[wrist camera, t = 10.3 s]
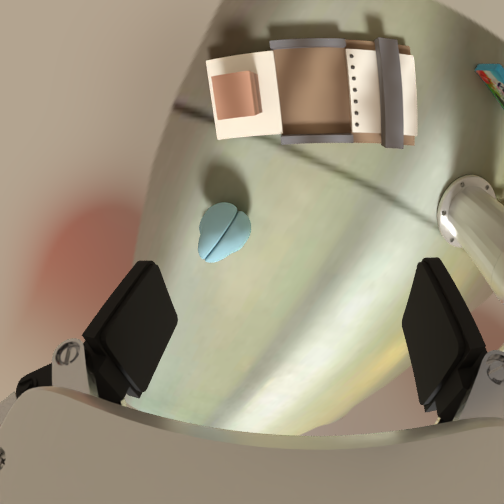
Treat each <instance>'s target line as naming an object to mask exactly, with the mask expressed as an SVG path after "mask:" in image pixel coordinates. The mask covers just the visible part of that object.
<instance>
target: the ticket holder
mask: <svg viewBox="0 0 504 504" xmlns="http://www.w3.org/2000/svg"><path fill="white" fill-rule="evenodd" d="M269 42H270V48H271V50H272V51H273V52H274V58H275V66H276V73H277V81H278V90H279V98H280V107H281V117H282V126H283V134H282V135H281V143H282V144H300V143H354V142H356V143H381V145H382V146H384V147H385V148H399V149H403V145H414V137H415V136H417V91H416V76H415V65H414V56H412V55H410V47H409V46H404V45H398V42H397V40H395V39H388V38H380V37H378V38H377V39H375V40H374V41H362V40H345V39H341V38H304V39H285V40H273V41H269Z"/></svg>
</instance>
